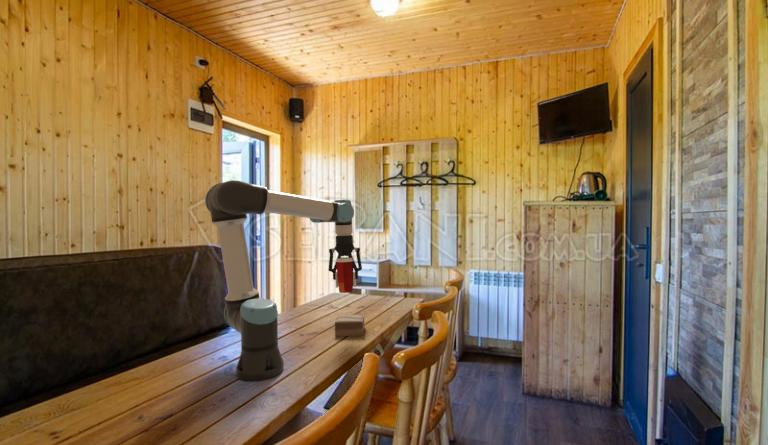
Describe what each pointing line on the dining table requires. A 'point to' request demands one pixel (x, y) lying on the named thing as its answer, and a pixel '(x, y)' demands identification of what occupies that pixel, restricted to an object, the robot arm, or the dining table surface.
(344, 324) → the riser
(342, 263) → the coffee cup
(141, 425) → the dining table surface
